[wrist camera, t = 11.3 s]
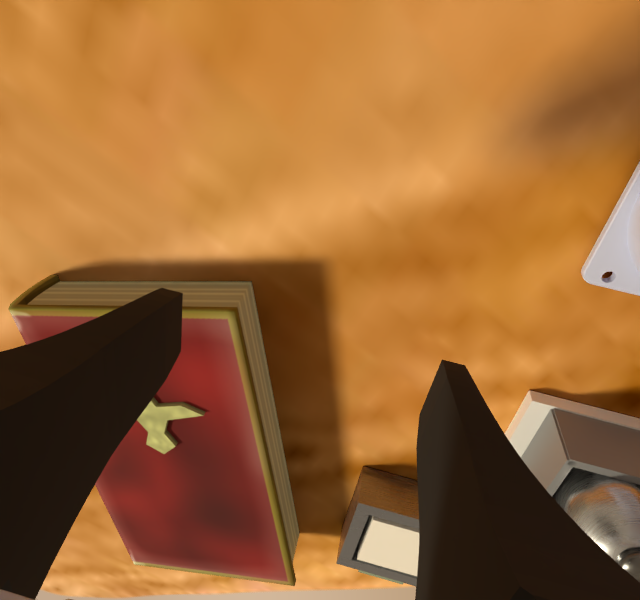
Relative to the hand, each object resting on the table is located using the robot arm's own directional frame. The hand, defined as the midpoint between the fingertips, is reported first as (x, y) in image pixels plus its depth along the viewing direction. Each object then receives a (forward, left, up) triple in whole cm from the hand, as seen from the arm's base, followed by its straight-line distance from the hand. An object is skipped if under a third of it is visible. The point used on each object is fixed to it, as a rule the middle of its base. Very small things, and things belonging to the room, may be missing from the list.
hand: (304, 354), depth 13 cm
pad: (-7, +18, -8) cm, 22 cm away
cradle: (-7, +19, -10) cm, 22 cm away
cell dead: (-14, +10, -9) cm, 19 cm away
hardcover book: (+7, +16, -11) cm, 20 cm away
